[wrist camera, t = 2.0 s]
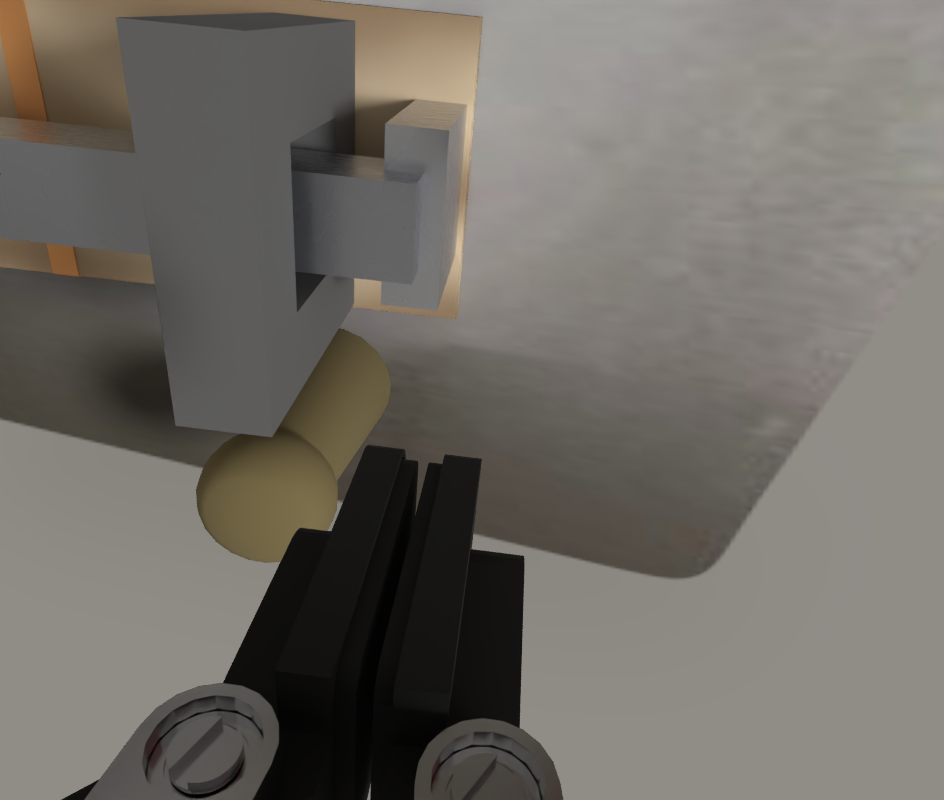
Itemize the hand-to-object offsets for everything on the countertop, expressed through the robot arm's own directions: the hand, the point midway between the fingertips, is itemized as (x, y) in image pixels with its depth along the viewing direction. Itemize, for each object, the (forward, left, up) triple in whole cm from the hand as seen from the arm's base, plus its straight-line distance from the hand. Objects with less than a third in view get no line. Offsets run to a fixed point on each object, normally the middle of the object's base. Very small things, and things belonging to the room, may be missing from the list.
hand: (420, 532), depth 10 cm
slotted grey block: (0, -7, -20) cm, 22 cm away
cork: (+10, -7, -22) cm, 25 cm away
